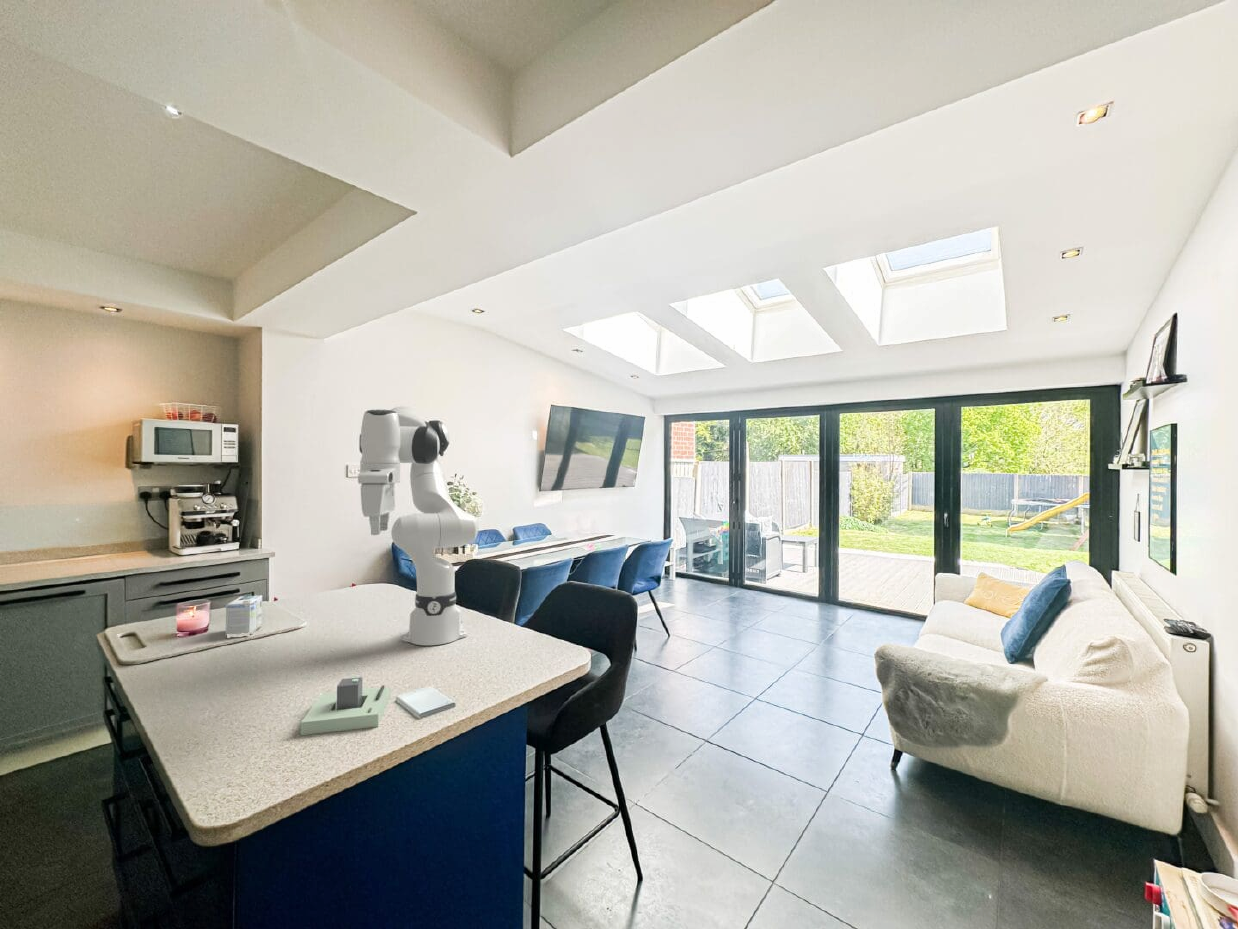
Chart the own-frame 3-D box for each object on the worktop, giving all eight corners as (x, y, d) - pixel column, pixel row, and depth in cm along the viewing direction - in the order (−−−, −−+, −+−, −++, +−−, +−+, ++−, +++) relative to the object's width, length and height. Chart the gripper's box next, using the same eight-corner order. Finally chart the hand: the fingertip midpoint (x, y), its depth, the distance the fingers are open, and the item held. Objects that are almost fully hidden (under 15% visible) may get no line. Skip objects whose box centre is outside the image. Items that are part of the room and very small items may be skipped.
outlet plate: (322, 703, 114) (323, 689, 114) (390, 697, 117) (390, 683, 117) (300, 735, 100) (301, 718, 100) (378, 726, 104) (378, 710, 104)
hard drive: (455, 701, 113) (430, 685, 121) (419, 714, 107) (395, 695, 116) (455, 709, 113) (430, 692, 121) (419, 722, 107) (395, 702, 116)
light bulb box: (238, 629, 168) (239, 596, 168) (262, 627, 170) (263, 594, 170) (224, 639, 158) (225, 604, 158) (250, 637, 160) (250, 602, 160)
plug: (341, 711, 110) (342, 677, 110) (362, 709, 111) (362, 675, 111) (336, 720, 106) (337, 685, 106) (357, 718, 107) (358, 683, 107)
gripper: (375, 475, 133) (374, 528, 133) (355, 475, 113) (355, 538, 113) (401, 475, 135) (400, 527, 134) (386, 475, 115) (385, 537, 115)
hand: (379, 532), depth 124 cm, fingers open, 8 cm apart
